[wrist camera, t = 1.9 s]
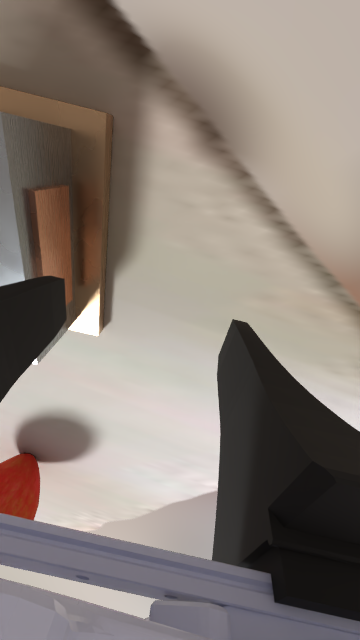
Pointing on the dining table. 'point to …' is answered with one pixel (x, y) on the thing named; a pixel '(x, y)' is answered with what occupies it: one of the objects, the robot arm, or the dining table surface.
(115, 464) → the dining table surface
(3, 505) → the apple
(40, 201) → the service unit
